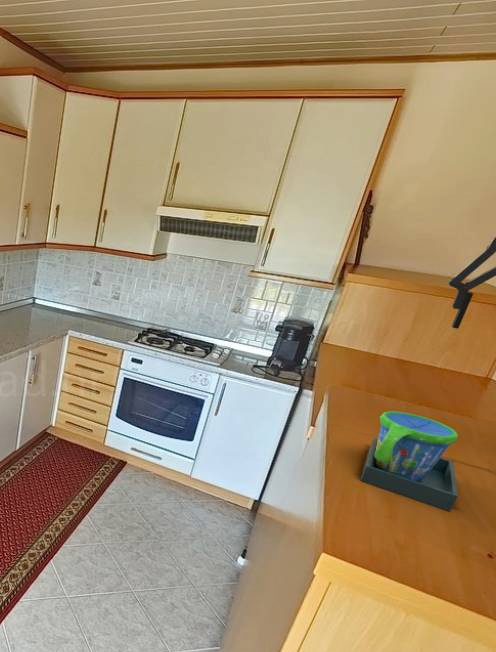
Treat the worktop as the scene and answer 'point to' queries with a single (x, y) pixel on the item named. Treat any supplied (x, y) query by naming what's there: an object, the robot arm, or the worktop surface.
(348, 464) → the worktop surface
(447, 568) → the worktop surface
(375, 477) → the rectangular tray
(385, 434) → the snack cup
